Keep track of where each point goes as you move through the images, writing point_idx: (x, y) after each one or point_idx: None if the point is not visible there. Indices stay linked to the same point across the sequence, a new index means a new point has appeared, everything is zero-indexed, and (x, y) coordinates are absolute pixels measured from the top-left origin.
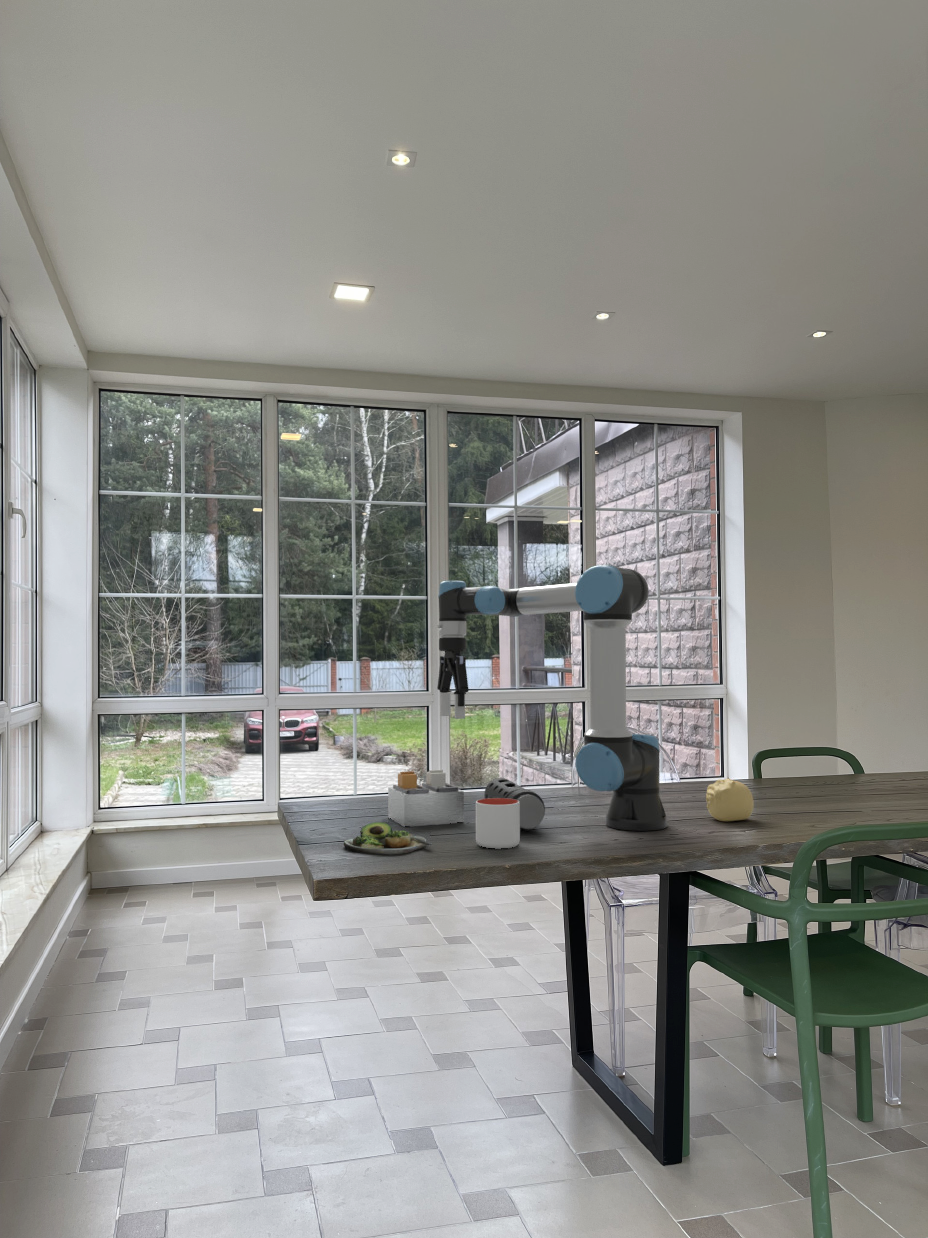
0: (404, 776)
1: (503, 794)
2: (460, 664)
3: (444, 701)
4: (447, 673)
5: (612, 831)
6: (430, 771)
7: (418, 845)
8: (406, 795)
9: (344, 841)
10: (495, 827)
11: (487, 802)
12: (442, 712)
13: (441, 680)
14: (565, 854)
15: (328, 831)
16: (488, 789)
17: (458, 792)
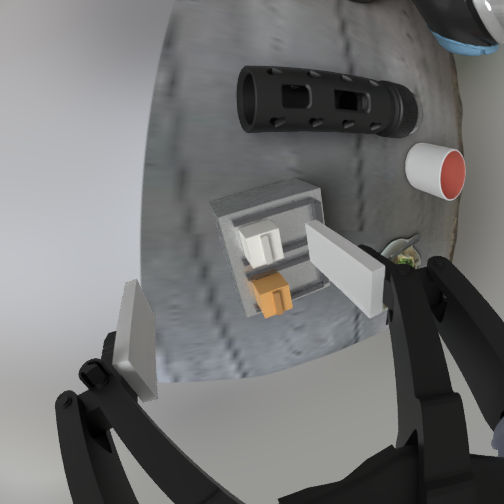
0: (291, 303)
1: (370, 127)
2: (462, 458)
3: (147, 349)
4: (232, 495)
5: (374, 12)
6: (272, 261)
7: (412, 246)
8: (329, 282)
9: (385, 310)
10: (446, 178)
11: (436, 180)
12: (151, 321)
13: (115, 464)
14: (447, 116)
15: (309, 338)
16: (275, 128)
17: (320, 197)
